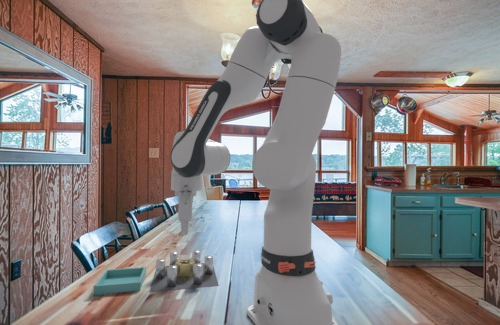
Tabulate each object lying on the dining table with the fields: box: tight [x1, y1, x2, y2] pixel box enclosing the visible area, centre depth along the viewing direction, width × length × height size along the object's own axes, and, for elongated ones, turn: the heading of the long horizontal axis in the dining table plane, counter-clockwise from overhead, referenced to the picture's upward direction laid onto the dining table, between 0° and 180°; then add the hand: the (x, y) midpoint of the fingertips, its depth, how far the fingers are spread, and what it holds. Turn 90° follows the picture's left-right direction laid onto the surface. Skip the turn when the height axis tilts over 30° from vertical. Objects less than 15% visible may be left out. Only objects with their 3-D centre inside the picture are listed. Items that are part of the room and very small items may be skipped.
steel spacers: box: [155, 249, 214, 287], centre depth 80 cm, size 15×17×5 cm
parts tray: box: [93, 266, 147, 297], centre depth 75 cm, size 11×11×2 cm
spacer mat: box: [149, 262, 220, 293], centre depth 80 cm, size 18×18×1 cm
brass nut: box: [175, 258, 195, 279], centre depth 80 cm, size 6×5×4 cm
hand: (184, 230), depth 81 cm, fingers open, 8 cm apart
